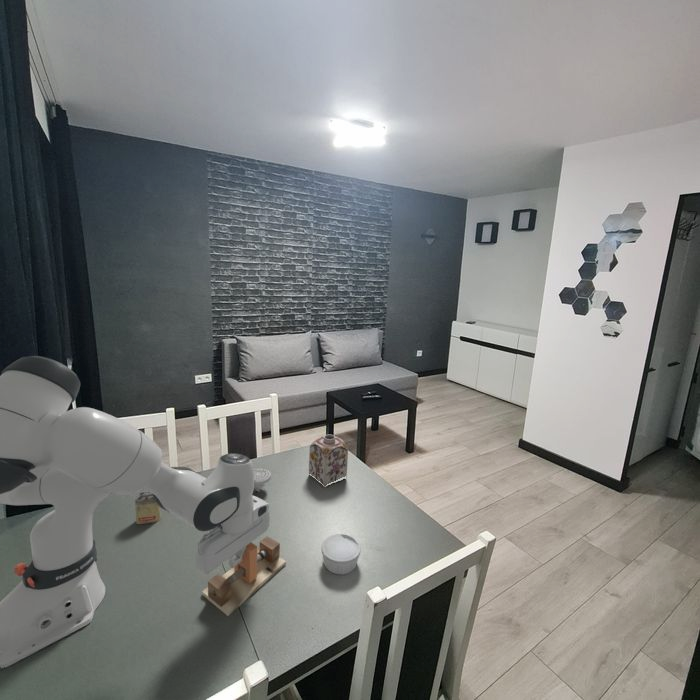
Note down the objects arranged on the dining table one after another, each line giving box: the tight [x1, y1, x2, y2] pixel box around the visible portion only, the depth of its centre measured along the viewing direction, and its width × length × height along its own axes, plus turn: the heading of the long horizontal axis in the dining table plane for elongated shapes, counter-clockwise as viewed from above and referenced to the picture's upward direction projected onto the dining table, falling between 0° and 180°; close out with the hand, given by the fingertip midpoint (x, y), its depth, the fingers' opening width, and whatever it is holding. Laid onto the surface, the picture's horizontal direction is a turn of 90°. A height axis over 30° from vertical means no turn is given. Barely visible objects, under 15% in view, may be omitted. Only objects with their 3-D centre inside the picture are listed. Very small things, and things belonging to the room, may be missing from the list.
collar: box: [234, 542, 258, 584], centre depth 96 cm, size 2×6×10 cm, turn 57°
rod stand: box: [201, 535, 287, 617], centre depth 97 cm, size 20×10×6 cm, turn 147°
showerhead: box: [253, 468, 272, 493], centre depth 136 cm, size 9×7×10 cm
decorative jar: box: [308, 434, 349, 486], centre depth 147 cm, size 12×12×18 cm
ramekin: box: [321, 533, 362, 575], centre depth 104 cm, size 11×11×5 cm
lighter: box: [134, 491, 162, 525], centre depth 116 cm, size 7×4×10 cm, turn 109°
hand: (235, 563), depth 92 cm, fingers closed
